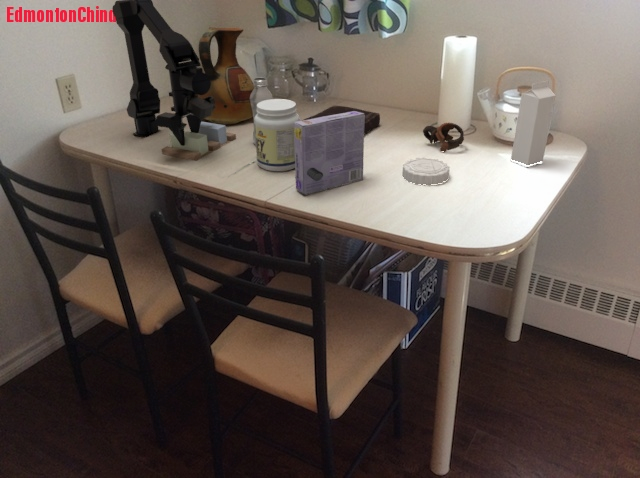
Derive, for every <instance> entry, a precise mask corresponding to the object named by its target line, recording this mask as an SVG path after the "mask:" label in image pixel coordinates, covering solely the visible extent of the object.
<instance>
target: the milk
mask: <svg viewBox="0 0 640 478" xmlns="http://www.w3.org/2000/svg"><path fill="white" fill-rule="evenodd" d="M555 100H556V94H555V93H554V92H553V91H552V89H551V88H550V87H549V80H544V81H539V82H533V83H532V84H531V89H529V90H526V91H523V92H521V96H520V102H519V107H518V115H517V119H516V126H515V130H514V131H515V133H514V137H513V138H514V139H513V144H512V145H513V146H512V151H511V157H510V160H511V159H512V160H515V161H518V162H521V163H524V164H526V165H530V164H534V163H537V162H540V161H543V162H544V156H545V152H546V147H547V142H548V137H549V131H550V126H551V123H552V115H553V111H554V105H555Z"/></svg>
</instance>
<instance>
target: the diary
mask: <svg viewBox="0 0 640 478" xmlns="http://www.w3.org/2000/svg"><path fill="white" fill-rule="evenodd" d="M352 111H357V112H360V113H364V115H365V123H364V135H366V134H367V133H369V132H370V131H372V130H374V129H376V128H377V127H379V126H380V124H381V123H380V122H381V115H380V113H379V112H373V111H370V110H369V111H368V110H362V109H359V108H356V107H348V106H345V105H332V106H330V107H328V108H326V109H324V110H322V111H320V112H318V113H316V114H313V115H311V116H308V117H306V118H304V119H302V120H301V121H303V120H308V119H314V118H319V117H324V116H330V115H336V114H341V113H346V112H352ZM378 125H379V126H378ZM376 126H377V127H376ZM373 128H374V129H373Z"/></svg>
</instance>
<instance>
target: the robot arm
mask: <svg viewBox="0 0 640 478" xmlns="http://www.w3.org/2000/svg"><path fill="white" fill-rule="evenodd" d="M111 9H112V14H113V16H114V18H115V22H116V24H117V25H118V27H119V28H120V29H121V31H122V32H123V34H124V40H125V43H126V50H127V56H128V60H129V67H130V71H131V76H132V77H131V78H132V86H131V88H130V90H129V102H128V105H127V107H126V112H127V114H128V117H129V118H132V119H133V120H134V126H135V132H133V133H132V135H133V136H137V137H141V138H148V137H150V136H153V135H155V134H157V133H159V132H162V130H161V129H159V127H161V128H165V129H166V128H167V129H169V130H170V132H171V133H173V134H174V136H175V137H176V139H177V140H178V142H179V143H180V144H181V145H182V146H184V145H185V136H184V131H185V128H186V126H187V125H188V126H189V130H190V131H189V132H193V133H199V128H200V124H201V122H203V120H206V119H205V118H206V117H208V116H209V117H210V116H211V113H212V111H213V110H214V109H215V100H214V97H212V96H208V97H206V98H205V99H204V98H199V97H198V95H204V94H206V93H207V92H208V91H209V89H210V86H211V81H210V79H209V77H208V75H206V74H205V72H203V71H204V69H203V67H201V66H202V63H201V61H200V57H199V56H198V55H197V53H196V51H195V50H194V48H193V45H192V44H191V42H190V41H189V40H188V38H186V37H185V36H184V35H183V34H182V33H180V32H177V31H174V30H173V28H172V27H171V25H169V24H168V22H167V21H166V20H165V18H164V17H163V16H162V15H161V13H160V12H159V11H158V10H157V8H156V7H155V5H154V3H153V1H152V0H116V1H115V2H114V4H113V5H112V8H111ZM144 27H146V28H147V29H148V31H149V32H150V33H151V34H152V37H154V38H155V40H156V41H157V43H158V44H159V53H160V55H161V57H162V59H163V60H164V62H165V63H166V65H165V67H164V68H165V70H167V71H168V73H169V79H170V81H169V82H170V88H171V91H168V96H169V97H171V98H172V102H173V106H171V107H170V110H171V112H167V111H166V112H163V113H161V99H160V96H159V90H158V89H157V87H154V85H153V84H152V83H151V80H150V74H149V73H150V72H149V68H148V61H147V56H146V55H147V54H146V49H145V43H144V39H143V38H144V37H143V30H144ZM172 112H173V113H172ZM174 112H175V113H174ZM160 113H161V114H160ZM157 114H158V115H157ZM184 118H186V121H187V123H188V124H187V123H184V120H183V119H184Z"/></svg>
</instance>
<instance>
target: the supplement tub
mask: <svg viewBox="0 0 640 478" xmlns="http://www.w3.org/2000/svg"><path fill="white" fill-rule="evenodd" d="M297 121H301V117H300V115H299V114H298V113H297V103H296V101H293V100H290V99H283V98H273V99H270V100H264V101H261V102H259V103H258V104H257V114H256V116H255V118H254V119H253V125H254V124H255V138H256V145H255V152H256V162H257V164H258V166H259V167H260V168H262V169H263V170H266V171H271V172H285V171H290V170H293V169H294V170H295V144H294V122H297Z"/></svg>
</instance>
